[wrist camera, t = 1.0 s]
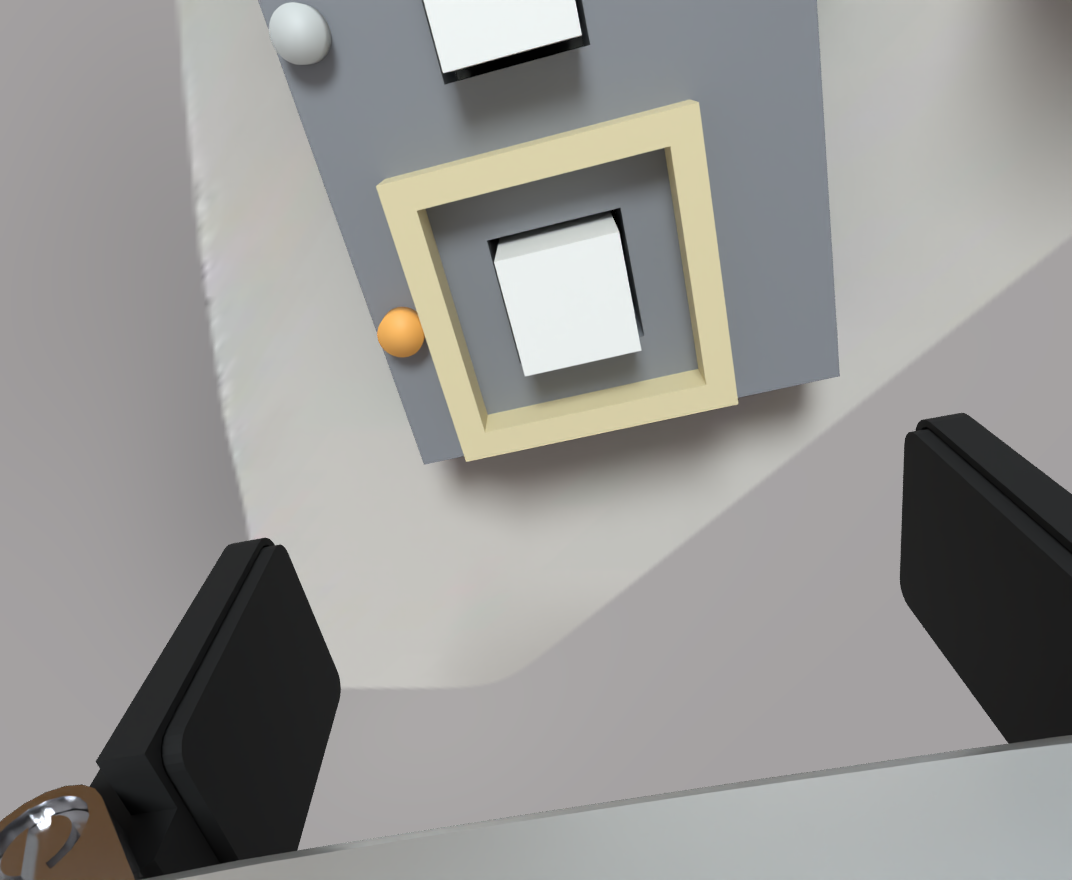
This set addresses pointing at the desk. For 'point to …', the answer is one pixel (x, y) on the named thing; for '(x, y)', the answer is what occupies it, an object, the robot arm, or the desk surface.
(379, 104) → the gray panel board
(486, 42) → the block
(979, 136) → the desk surface
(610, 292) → the block
